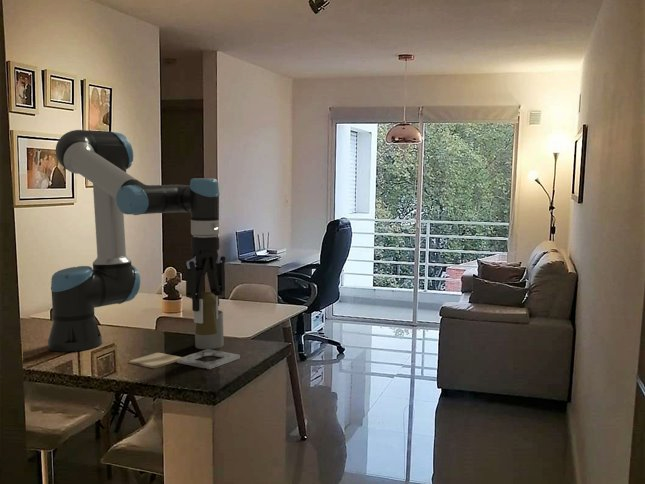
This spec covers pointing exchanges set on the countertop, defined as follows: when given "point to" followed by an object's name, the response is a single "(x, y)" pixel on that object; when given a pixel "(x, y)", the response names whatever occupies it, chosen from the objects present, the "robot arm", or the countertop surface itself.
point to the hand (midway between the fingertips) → (206, 320)
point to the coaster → (155, 360)
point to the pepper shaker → (207, 315)
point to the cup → (211, 336)
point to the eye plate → (210, 364)
